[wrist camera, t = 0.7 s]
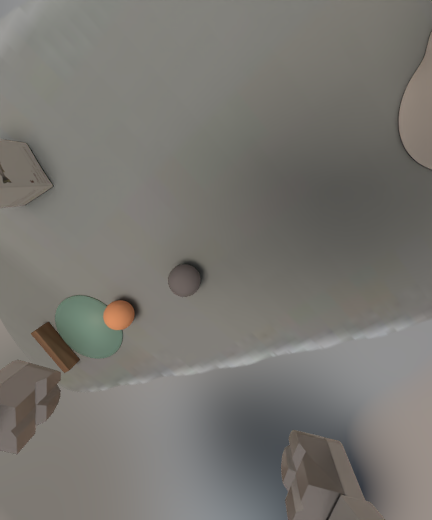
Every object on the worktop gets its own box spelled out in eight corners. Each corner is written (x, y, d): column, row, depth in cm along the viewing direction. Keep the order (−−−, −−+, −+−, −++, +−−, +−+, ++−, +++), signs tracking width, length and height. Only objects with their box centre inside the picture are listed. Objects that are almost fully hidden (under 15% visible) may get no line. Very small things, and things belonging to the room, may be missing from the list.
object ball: (128, 290, 43) (112, 304, 38) (144, 313, 44) (131, 329, 39) (108, 302, 45) (91, 316, 40) (124, 323, 46) (109, 340, 41)
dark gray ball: (193, 254, 39) (184, 265, 34) (209, 280, 40) (202, 294, 35) (168, 268, 40) (156, 280, 36) (184, 292, 41) (175, 307, 37)
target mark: (91, 283, 44) (90, 283, 44) (136, 343, 47) (136, 343, 46) (42, 313, 48) (41, 313, 48) (86, 366, 51) (85, 367, 51)
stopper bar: (48, 321, 49) (35, 330, 46) (79, 359, 51) (69, 370, 48) (43, 324, 49) (30, 333, 46) (74, 362, 51) (64, 372, 48)
